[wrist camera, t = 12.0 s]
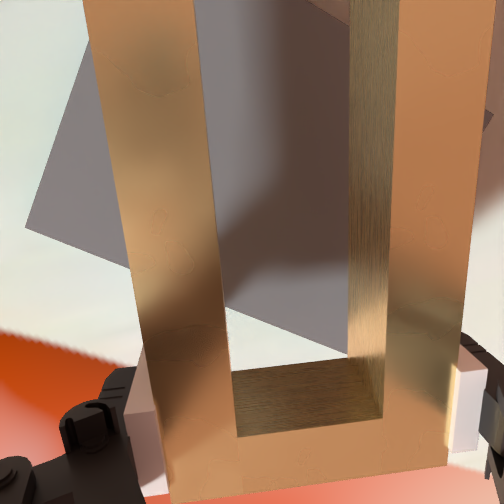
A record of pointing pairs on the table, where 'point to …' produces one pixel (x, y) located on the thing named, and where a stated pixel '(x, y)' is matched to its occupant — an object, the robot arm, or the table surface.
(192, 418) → the golden brown rectangular frame
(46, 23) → the table surface
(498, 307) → the table surface
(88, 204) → the rubber mat
